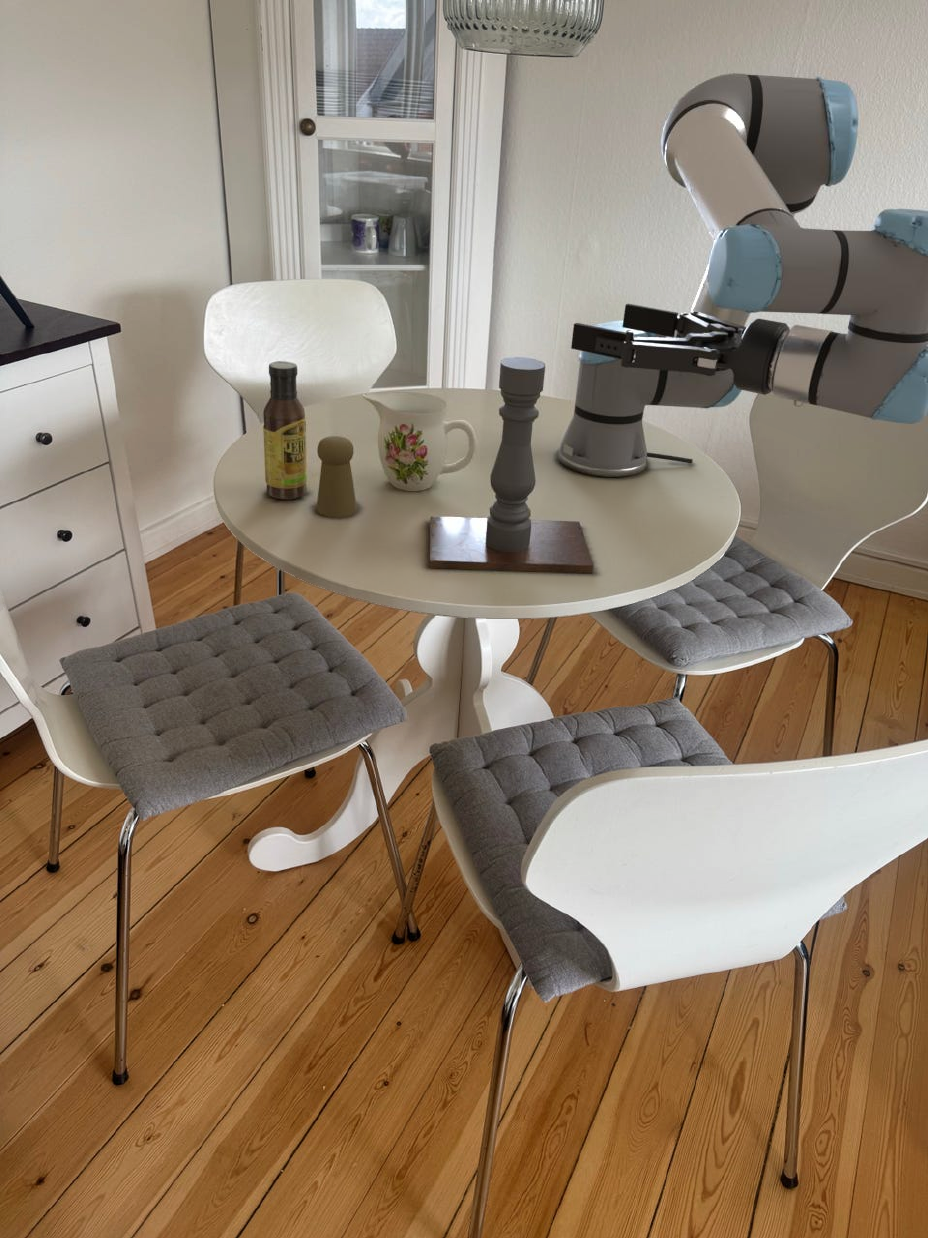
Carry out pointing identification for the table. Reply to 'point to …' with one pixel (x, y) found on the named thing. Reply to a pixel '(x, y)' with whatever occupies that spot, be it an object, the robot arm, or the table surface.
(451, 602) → the table surface
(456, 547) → the walnut board
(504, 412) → the candle holder
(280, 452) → the sauce bottle
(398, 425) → the pitcher
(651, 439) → the table surface
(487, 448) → the table surface
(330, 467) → the olive pepper mill
